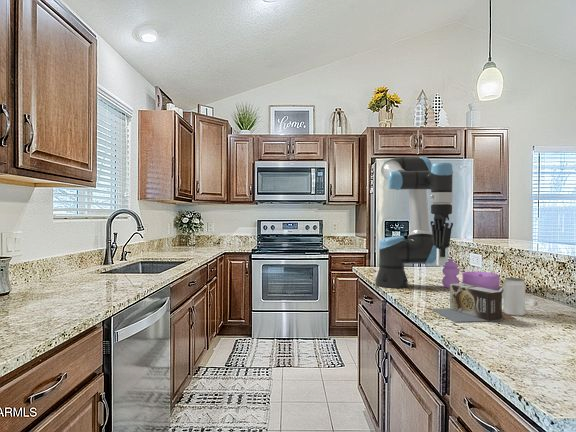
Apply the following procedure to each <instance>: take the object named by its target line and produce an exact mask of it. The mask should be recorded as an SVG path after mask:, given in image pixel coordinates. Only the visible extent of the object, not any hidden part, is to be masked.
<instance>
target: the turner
mask: <svg viewBox="0 0 576 432" xmlns="http://www.w3.org/2000/svg"><path fill="white" fill-rule="evenodd" d="M501 319H502V320H515V319H516V318H515V316H513V315H508V314H505V313H504V312H502V318H501Z"/></svg>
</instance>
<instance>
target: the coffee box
mask: <svg viewBox="0 0 576 432" xmlns="http://www.w3.org/2000/svg"><path fill="white" fill-rule="evenodd" d="M449 308H450V309H451V310H455V311H458V312H462V313H465V314H468V315H472V316H475V317H478V318H482V319H485V320H488V321H489V320H496V319H501V320H502V319H503V318H502V313H503V304H502V292H501V291H499V290H491V289H487V288H482V287H478V286H473V285H469V284H464V283H462V282H461V283H460V282H459V284H450V288H449Z"/></svg>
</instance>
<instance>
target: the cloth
mask: <svg viewBox="0 0 576 432" xmlns="http://www.w3.org/2000/svg"><path fill="white" fill-rule="evenodd" d="M503 289H504V286H502V287H501V288H499V290H498V291H501V292H502V305H503ZM536 303H537V302H536V300H534V299H531V298H526V297H525V306H531V307H535V306H536Z"/></svg>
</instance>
